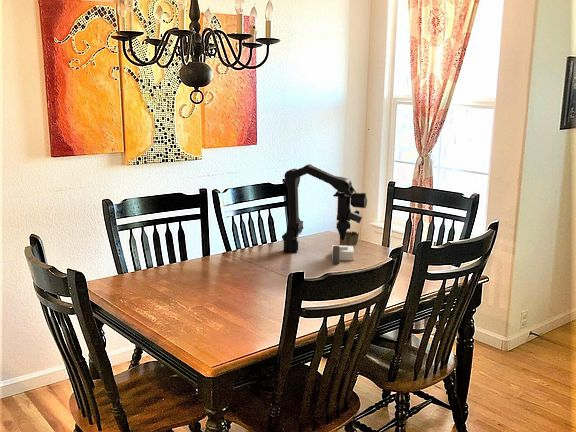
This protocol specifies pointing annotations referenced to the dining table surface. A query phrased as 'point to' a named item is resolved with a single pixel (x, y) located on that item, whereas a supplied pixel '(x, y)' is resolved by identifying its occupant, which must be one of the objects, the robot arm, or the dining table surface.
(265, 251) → the dining table surface
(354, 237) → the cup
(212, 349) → the dining table surface
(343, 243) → the square peg
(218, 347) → the dining table surface
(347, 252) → the socket block
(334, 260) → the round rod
